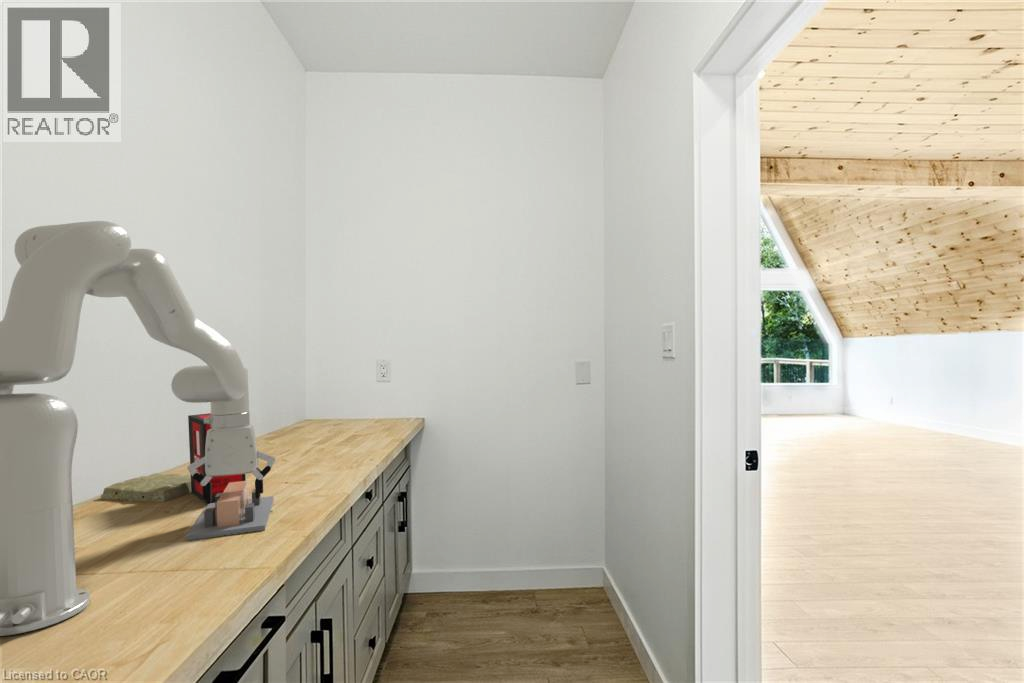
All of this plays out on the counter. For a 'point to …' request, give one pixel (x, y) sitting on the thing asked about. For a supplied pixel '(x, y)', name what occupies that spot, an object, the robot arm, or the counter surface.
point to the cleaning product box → (198, 451)
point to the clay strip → (232, 504)
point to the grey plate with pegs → (250, 522)
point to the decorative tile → (150, 488)
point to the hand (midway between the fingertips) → (234, 499)
